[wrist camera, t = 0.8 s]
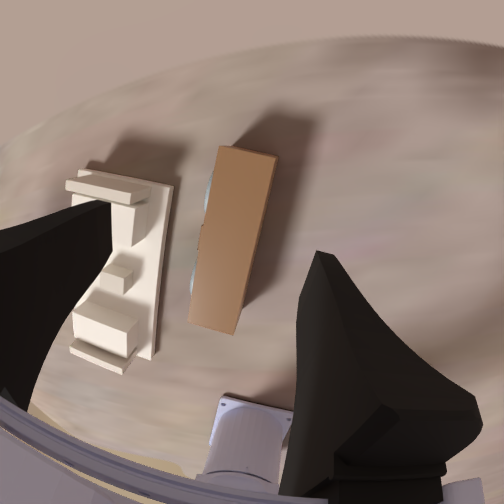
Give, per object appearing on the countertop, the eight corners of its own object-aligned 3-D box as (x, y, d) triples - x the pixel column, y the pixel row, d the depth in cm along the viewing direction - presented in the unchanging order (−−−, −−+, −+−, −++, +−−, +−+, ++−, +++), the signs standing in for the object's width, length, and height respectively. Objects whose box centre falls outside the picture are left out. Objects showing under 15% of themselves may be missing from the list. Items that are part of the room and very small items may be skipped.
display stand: (154, 354, 31) (136, 382, 26) (81, 326, 31) (58, 348, 27) (174, 186, 25) (150, 195, 21) (84, 168, 25) (52, 174, 21)
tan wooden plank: (242, 307, 28) (233, 335, 24) (199, 296, 28) (183, 321, 24) (279, 156, 23) (275, 158, 19) (228, 145, 24) (214, 144, 19)
